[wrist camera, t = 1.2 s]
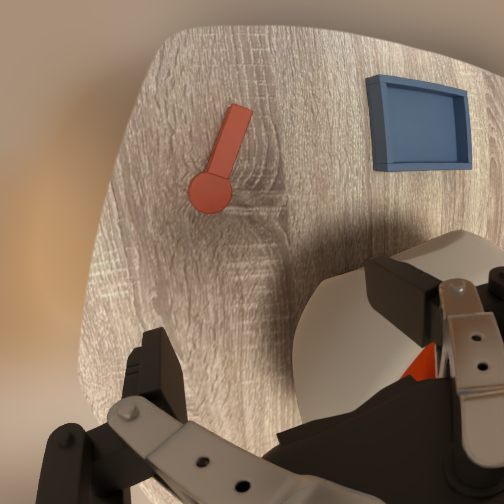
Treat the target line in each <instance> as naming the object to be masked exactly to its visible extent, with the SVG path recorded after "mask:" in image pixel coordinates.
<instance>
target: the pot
mask: <svg viewBox="0 0 504 504" xmlns="http://www.w3.org/2000/svg"><path fill="white" fill-rule="evenodd" d="M390 258H392V259H394V260H396V261H401V262H406V263H409V264H411V265H413V266H415V267H416V268H419V269H421V270H423V272H426V273H428V274H430V275H432V276H434V277H436V278H438V279H440V280H442V281H443V282H444V281H446V280H448V279H454V278H461V279H466V280H469V281H471V282H472V283H473V284H474V285H475V286H478V285H482V284H485V283H488V277H489V271H490V270H491V269H493V268H495V267H499V266H504V251H503V250H502V249H501V248H499V247H498V246H496V245H495V244H493V243H492V242H490V241H488V240H486V239H484V238H482V237H480V236H478V235H476V234H473V233H470V232H467V231H464V230H456V231H452V232H449V233H446V234H443V235H441V236H438V237H436V238H433V239H431V240H429V241H426V242H424V243H422V244H419V245H417V246H414V247H412V248H410V249H407V250H405V251H402V252H400V253H397V254H395V255H392V256H390ZM292 366H293V378H294V385H295V392H296V398H297V403H298V407H299V412H300V416H301V420H302V424H305V423H307V422H310V421H312V420H317V419H322V418H327V417H331V416H336V415H340V414H345V413H349V412H352V411H354V410H355V409H357V408H358V407H359V406H361V405H362V404H363V403H364V402H366V401H367V400H368V399H370V398H371V397H372V396H373V395H375V394H376V393H377V392H378V391H380V390H381V389H383V388H385V387H386V386H388V385H390V384H392V383H394V382H396V381H398V380H400V379H402V378H403V377H405V376H407V375H409V374H410V375H411V376H412V377H413V378H414V379H415V380H416V381H417V382H418V381H421V380H426V379H432V378H436V371H435V343H434V342H433V343H431V344H429V345H427V346H426V347H424V348H421V347H420V346H418V345H417V344H416V343H415V342H414V341H412V340H411V339H410V338H409V337H407V336H406V335H405V334H404V333H403V332H401V331H400V330H399V329H398V328H396V327H395V326H394V325H393V324H391V323H390V322H389V321H388V320H387V319H385V318H384V317H383V316H382V315H380V314H379V313H378V312H377V311H375V310H374V309H373V308H372V307H371V305H370V303H369V301H368V298H367V292H366V281H365V271H364V267H361V268H359V269H356V270H353V271H351V272H348V273H345V274H342V275H338V276H335V277H331V278H328V279H325V280H323V281H322V282H321V283H320V284H319V286H318V287H317V289H316V290H315V292H314V293H313V295H312V296H311V298H310V300H309V301H308V303H307V305H306V307H305V309H304V311H303V313H302V315H301V318H300V320H299V323H298V326H297V328H296V331H295V335H294V341H293V351H292Z"/></svg>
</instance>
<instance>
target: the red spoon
mask: <svg viewBox="0 0 504 504" xmlns="http://www.w3.org/2000/svg"><path fill="white" fill-rule="evenodd" d="M252 114H253V111H252V110H249V109H247V108H244V107H241V106H239V105H236V104H232V105H231V106H230V107H229V108H228V110H227V113H226V115H225V118H224V121H223V123H222V126H221V129H220V131H219V134H218V137H217V140H216V142H215V145H214V148H213V151H212V153H211V156H210V159H209V162H208V165H207V168H206V171H204V172H201V173H199V174H197V175H196V176H195V177H194V178H193V179H192V181H191V183H190V185H189V190H188V193H189V198H190V201H191V203H192V205H193V206H194V207H195V208H196V209H197V210H198V211H200V212H202V213H206V214H214V213H218V212H220V211H222V210H223V209H224V208H225V207H226V206H227V205H228V204H229V202H230V200H231V197H232V187H231V184H230V182H229V180H228V179H229V177H230V174H231V171H232V168H233V165H234V163H235V160H236V157H237V154H238V152H239V149H240V146H241V143H242V140H243V138H244V135H245V132H246V130H247V127H248V124H249V122H250V119H251V116H252Z"/></svg>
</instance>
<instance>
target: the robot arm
mask: <svg viewBox="0 0 504 504" xmlns="http://www.w3.org/2000/svg"><path fill="white" fill-rule="evenodd" d="M364 271H365V281H366V292H367V298H368V301H369V303H370V305H371V307H372V308H373V309H374V310H375V311H377V312H378V313H379V314H380V315H382V316H383V317H384V318H385V319H387V320H388V321H389V322H390V323H391V324H393V325H394V326H395V327H396V328H398V329H399V330H400V331H401V332H403V333H404V334H405V335H406V336H407V337H409V338H410V339H411V340H412V341H414V342H415V343H416V344H417V345H418V346H420V347H421V348H424V347H426V346H427V345H429V344H431V343H433V342H434V343H435V371H436V378H432V379H426V380H421V381H418V382H417V381H416V380H415V379H414V378H413V377H412V376H411V375H410V374H409V375H407V376H405V377H403V378H402V379H400V380H398V381H396V382H394V383H392V384H390V385H388V386H386V387H385V388H383V389H381V390H380V391H378V392H377V393H376V394H375V395H373V396H372V397H371V398H370V399H368V400H367V401H366V402H364V403H363V404H362V405H361V406H359V407H358V408H357V409H355V410H354V411H352V412H349V413H345V414H340V415H336V416H331V417H327V418H322V419H317V420H312V421H310V422H307V423H305V424H302V425H299V426H297V427H294V428H291V429H289V430H286V431H283V432H280V433H277V434H276V435H277V438H278V441H279V445H277V446H276V447H274V448H273V449H271V450H270V451H268V452H267V453H266V454H265V455H264V456H263V457H261V458H260V457H258V456H256V455H254V454H252V453H250V452H248V451H246V450H244V449H242V448H240V447H238V446H236V445H234V444H233V443H231V442H229V441H227V440H225V439H223V438H222V437H220V436H218V435H216V434H214V433H213V432H211V431H209V430H207V429H206V428H204V427H202V426H201V425H199V424H197V423H196V422H193V421H188V419H187V410H186V401H185V391H184V381H183V373H182V369H181V366H180V363H179V360H178V358H177V356H176V354H175V352H174V349H173V347H172V345H171V343H170V340H169V338H168V336H167V333H166V331H165V329H164V328H163V327H159V328H156V329H153V330H149V331H146V332H144V333H143V338H142V346H141V347H138V348H134V350H133V351H132V352H131V354H130V355H129V357H128V360H127V366H126V367H127V369H126V372H125V375H126V376H125V379H124V386H123V393H122V399H121V400H120V401H118V402H117V403H115V404H114V405H113V406H112V407H111V409H110V410H109V412H108V414H107V422H106V423H105V424H103V425H101V426H98V427H96V428H94V429H92V430H89V431H87V432H85V430H84V429H83V428H82V427H81V426H80V425H79V424H76V423H68V424H64V425H62V426H60V427H58V428H57V429H56V430H54V431H53V432H52V434H51V435H50V436H49V438H48V441H47V445H46V449H45V454H44V458H43V463H42V468H41V473H40V479H39V485H38V491H37V497H36V504H131V493H130V487H131V486H133V485H135V484H138V483H140V482H142V481H144V480H146V479H149V478H151V477H152V478H153V479H155V480H156V481H157V482H158V483H159V484H160V485H161V486H163V487H164V488H165V489H166V490H167V491H168V492H170V493H171V494H172V495H173V496H174V497H176V498H177V499H178V500H179V501H181V502H182V503H183V504H504V266H499V267H495V268H493V269H491V270H490V271H489V277H488V283H485V284H482V285H478V286H475V285H474V284H473V283H472V282H471V281H469V280H466V279H461V278H454V279H448V280H446V281H444V282H443V281H442V280H440V279H438V278H436V277H434V276H432V275H430V274H428V273H426V272H423V270H421V269H419V268H416V267H415V266H413V265H411V264H409V263H406V262H401V261H396V260H394V259H392V258H390V257H388V256H386V255H385V254H379V255H377V256H374V257H371V258H369V259H366V260H365V262H364Z"/></svg>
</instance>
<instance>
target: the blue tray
mask: <svg viewBox="0 0 504 504" xmlns="http://www.w3.org/2000/svg"><path fill="white" fill-rule="evenodd" d="M366 86H367V94H368V103H369V112H370V123H371V134H372V148H373V164H374V170H375V171H384V172H397V171H423V170H472V143H471V127H470V116H469V106H468V97H467V91H465V90H461V89H457V88H453V87H448V86H444V85H439V84H435V83H430V82H424V81H419V80H413V79H408V78H401V77H395V76H388V75H381V74H379V75H376V76H372V77H369V78H366Z"/></svg>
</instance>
